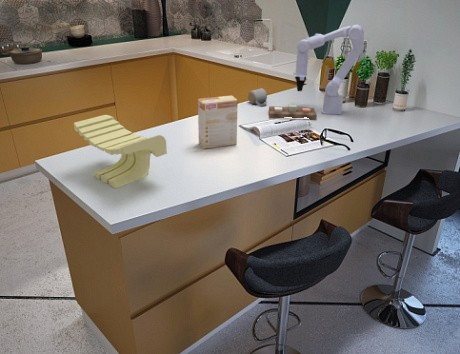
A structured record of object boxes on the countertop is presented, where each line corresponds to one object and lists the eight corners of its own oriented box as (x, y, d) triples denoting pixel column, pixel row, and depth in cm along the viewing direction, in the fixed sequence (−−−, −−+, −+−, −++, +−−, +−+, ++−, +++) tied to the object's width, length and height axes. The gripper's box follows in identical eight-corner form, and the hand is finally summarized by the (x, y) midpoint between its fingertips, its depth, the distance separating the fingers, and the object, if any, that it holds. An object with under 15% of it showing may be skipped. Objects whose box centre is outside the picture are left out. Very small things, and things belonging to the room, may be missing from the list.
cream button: (281, 112, 220) (282, 107, 218) (281, 115, 216) (282, 109, 215) (274, 112, 220) (274, 106, 219) (274, 114, 217) (274, 109, 215)
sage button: (295, 110, 219) (296, 104, 217) (296, 112, 215) (296, 107, 214) (288, 110, 219) (288, 104, 218) (288, 112, 216) (289, 106, 214)
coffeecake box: (231, 139, 188) (232, 95, 179) (237, 144, 182) (238, 99, 173) (198, 143, 183) (197, 98, 174) (203, 149, 177) (202, 103, 168)
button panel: (313, 112, 223) (313, 107, 222) (316, 120, 212) (316, 115, 211) (268, 110, 224) (269, 106, 223) (269, 118, 213) (269, 113, 212)
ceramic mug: (246, 102, 237) (247, 88, 233) (258, 100, 241) (259, 86, 237) (257, 107, 229) (258, 93, 225) (270, 105, 233) (271, 91, 229)
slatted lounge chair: (168, 180, 151) (165, 132, 143) (130, 196, 140) (126, 145, 132) (117, 156, 169) (112, 112, 161) (80, 169, 158) (73, 122, 150)
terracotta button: (309, 113, 219) (309, 108, 218) (310, 116, 216) (310, 110, 214) (301, 113, 219) (302, 107, 218) (302, 115, 216) (302, 110, 215)
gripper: (292, 61, 225) (290, 87, 231) (295, 67, 212) (292, 94, 218) (306, 61, 225) (304, 87, 231) (309, 67, 212) (306, 94, 218)
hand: (299, 90), depth 224 cm, fingers closed
